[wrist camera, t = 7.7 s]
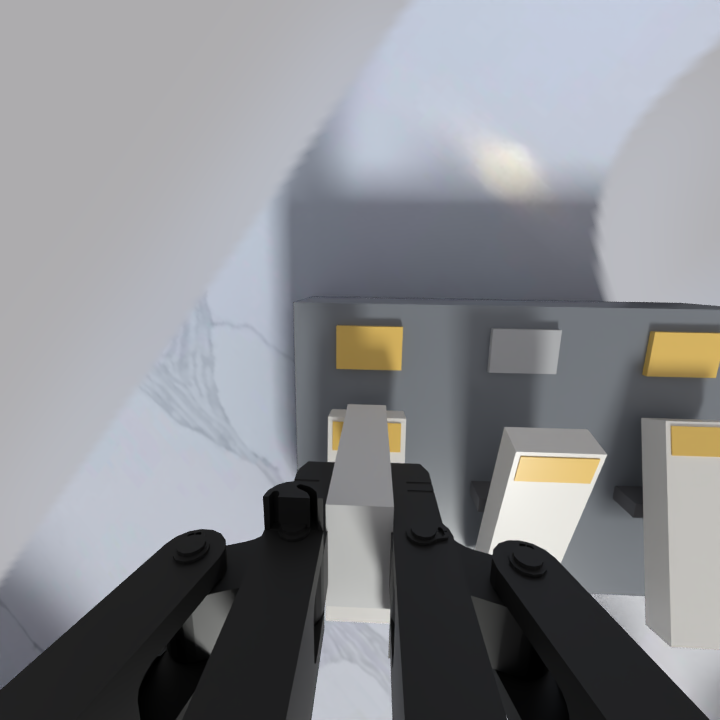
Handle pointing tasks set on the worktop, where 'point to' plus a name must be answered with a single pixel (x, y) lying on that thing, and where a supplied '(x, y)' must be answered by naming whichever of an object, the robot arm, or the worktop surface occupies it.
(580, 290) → the worktop surface
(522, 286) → the worktop surface
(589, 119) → the worktop surface
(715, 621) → the switch
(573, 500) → the switch
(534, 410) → the switch unit
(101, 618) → the robot arm
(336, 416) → the switch
